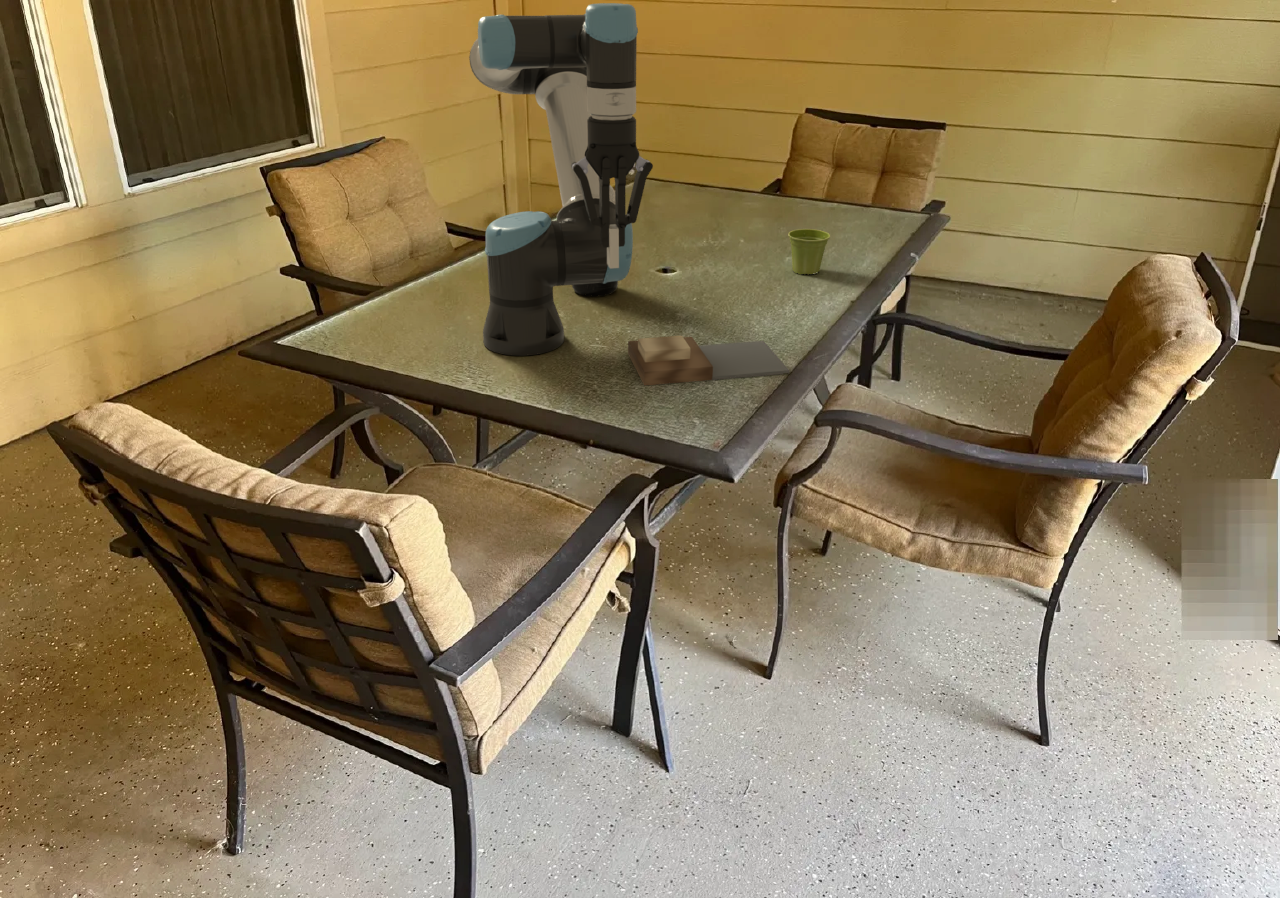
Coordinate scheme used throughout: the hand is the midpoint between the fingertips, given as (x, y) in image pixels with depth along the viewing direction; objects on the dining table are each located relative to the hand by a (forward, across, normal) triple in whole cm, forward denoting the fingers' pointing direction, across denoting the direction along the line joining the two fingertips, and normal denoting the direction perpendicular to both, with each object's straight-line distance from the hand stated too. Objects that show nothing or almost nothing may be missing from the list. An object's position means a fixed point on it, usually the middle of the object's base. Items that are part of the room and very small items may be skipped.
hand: (612, 265), depth 151 cm
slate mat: (+19, +23, 0) cm, 30 cm away
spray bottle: (+19, +4, +43) cm, 47 cm away
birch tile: (+17, +9, 0) cm, 19 cm away
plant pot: (+19, +54, +47) cm, 74 cm away
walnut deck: (+19, +10, 0) cm, 21 cm away
